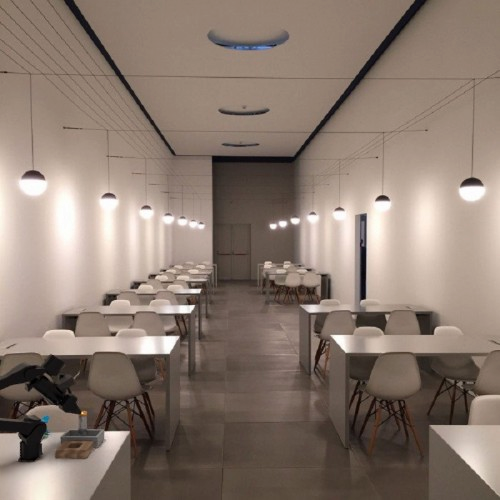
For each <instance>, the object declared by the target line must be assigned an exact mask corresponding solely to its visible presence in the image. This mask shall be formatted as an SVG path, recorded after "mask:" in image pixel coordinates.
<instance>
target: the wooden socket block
mask: <svg viewBox="0 0 500 500" xmlns="http://www.w3.org/2000/svg"><path fill="white" fill-rule="evenodd" d="M94 450H95V448H94V441H64V442H63V443H62V444H61V443H60V445H59V446H57V448H56V449H55V452H54V453H55V456H54V457H55V459H88V457H89V455H91V454H92V452H93V451H94Z"/></svg>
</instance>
